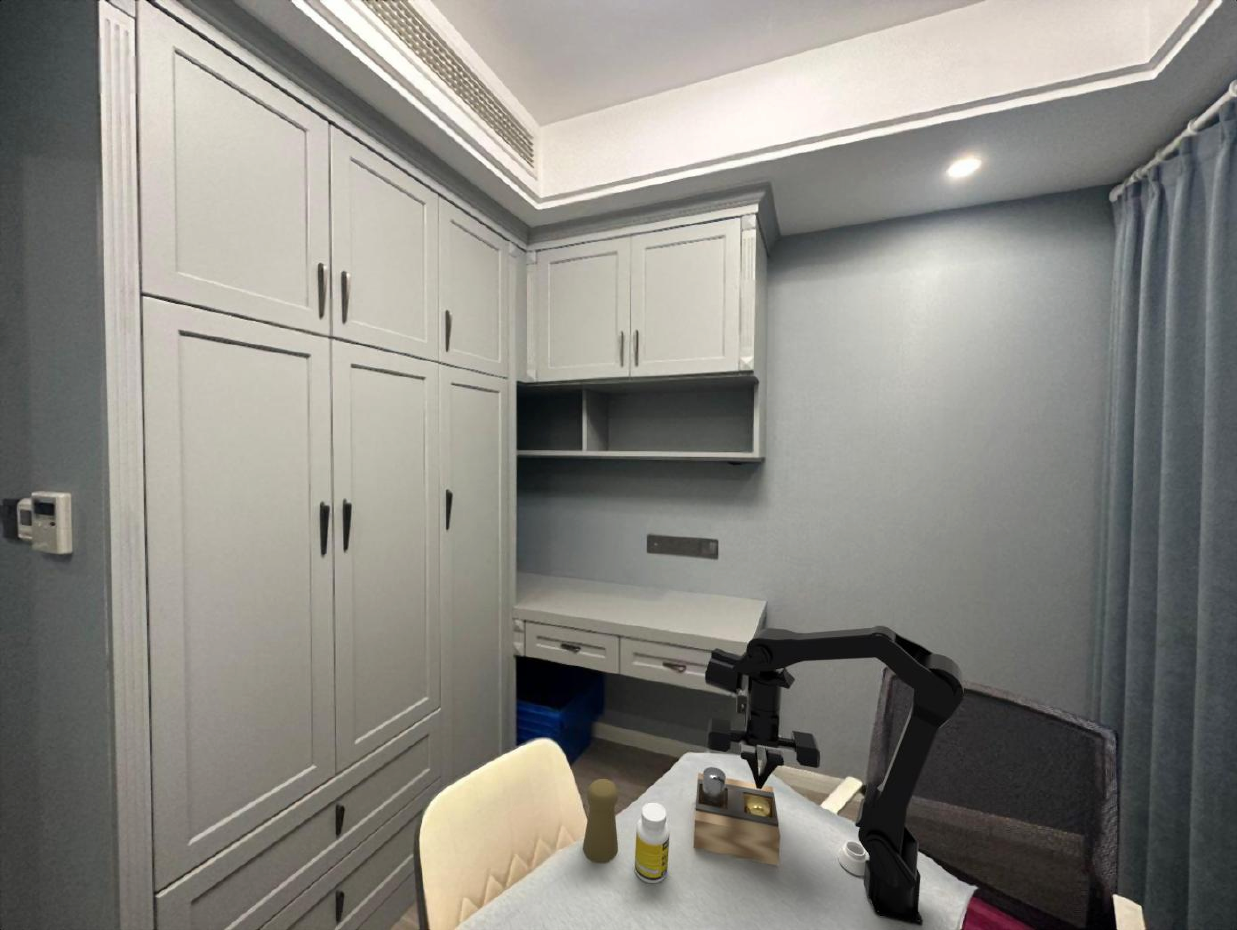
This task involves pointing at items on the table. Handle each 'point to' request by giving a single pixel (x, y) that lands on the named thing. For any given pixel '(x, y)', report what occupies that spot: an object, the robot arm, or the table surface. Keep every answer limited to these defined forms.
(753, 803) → the brass plunger
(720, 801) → the steel plunger
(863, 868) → the white jar
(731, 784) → the socket board
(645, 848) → the supplement bottle
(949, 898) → the table surface
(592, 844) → the olive brown pepper mill
